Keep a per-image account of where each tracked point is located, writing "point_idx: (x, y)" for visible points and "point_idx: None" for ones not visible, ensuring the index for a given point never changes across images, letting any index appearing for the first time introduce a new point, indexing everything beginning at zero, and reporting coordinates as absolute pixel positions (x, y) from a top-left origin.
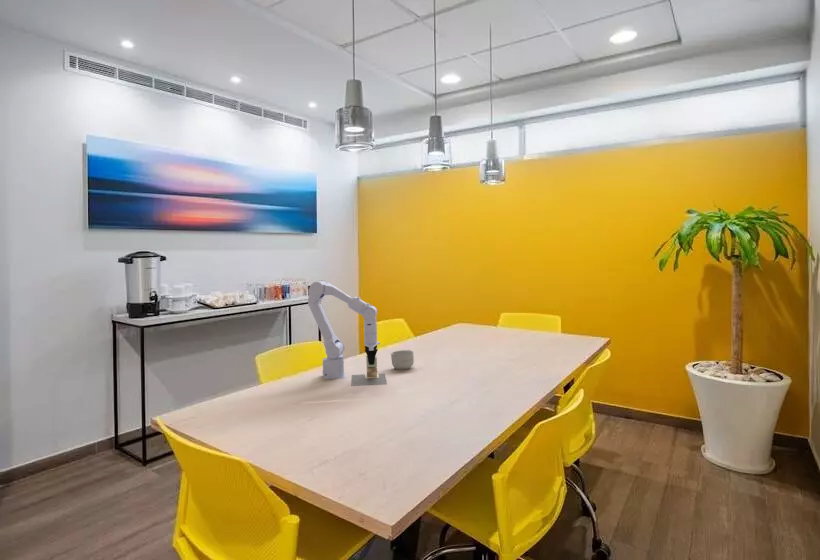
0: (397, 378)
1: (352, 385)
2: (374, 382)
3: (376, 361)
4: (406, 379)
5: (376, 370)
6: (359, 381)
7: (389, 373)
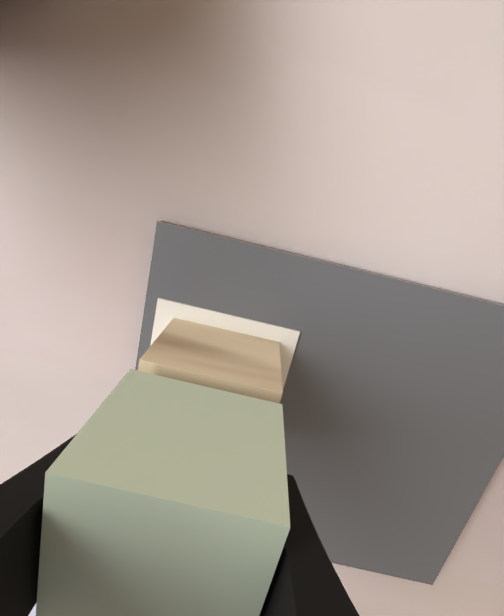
0: (383, 125)
1: (423, 573)
2: (444, 412)
3: (285, 467)
4: (488, 18)
5: (279, 382)
6: (341, 508)
7: (134, 153)
